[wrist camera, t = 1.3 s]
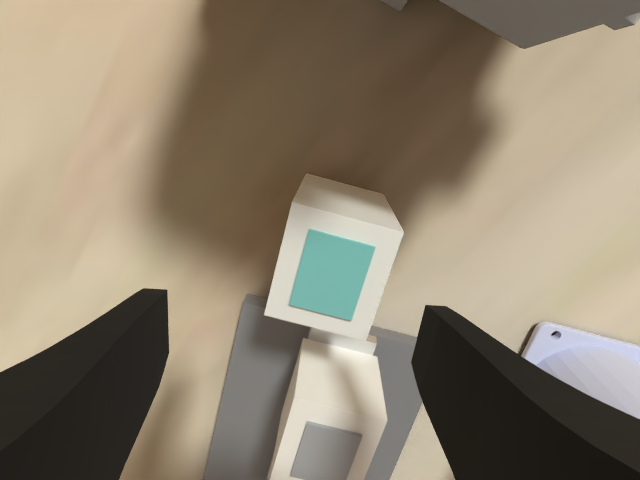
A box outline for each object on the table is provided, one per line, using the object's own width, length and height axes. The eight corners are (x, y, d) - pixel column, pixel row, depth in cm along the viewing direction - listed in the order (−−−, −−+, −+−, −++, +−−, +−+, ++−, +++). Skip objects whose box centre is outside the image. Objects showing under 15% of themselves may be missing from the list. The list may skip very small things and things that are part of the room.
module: (383, 194, 20) (404, 233, 14) (357, 274, 21) (366, 343, 15) (306, 172, 20) (291, 202, 14) (285, 255, 21) (263, 316, 15)
